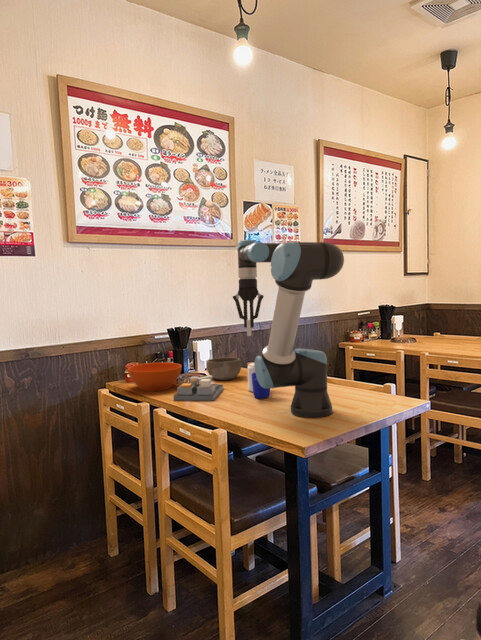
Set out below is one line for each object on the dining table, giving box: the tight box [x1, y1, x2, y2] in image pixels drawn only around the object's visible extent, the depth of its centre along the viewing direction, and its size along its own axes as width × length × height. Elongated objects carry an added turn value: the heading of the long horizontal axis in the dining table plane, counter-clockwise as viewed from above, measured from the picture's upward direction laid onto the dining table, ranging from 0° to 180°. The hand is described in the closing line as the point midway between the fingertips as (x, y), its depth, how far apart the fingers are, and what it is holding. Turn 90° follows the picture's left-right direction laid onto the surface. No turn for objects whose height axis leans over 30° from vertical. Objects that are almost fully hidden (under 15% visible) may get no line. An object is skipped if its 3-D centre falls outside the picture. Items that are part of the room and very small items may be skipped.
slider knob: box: [189, 376, 200, 387], centre depth 203 cm, size 4×3×5 cm
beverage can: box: [247, 362, 255, 393], centre depth 205 cm, size 8×8×12 cm
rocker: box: [199, 375, 213, 382], centre depth 209 cm, size 3×8×1 cm, turn 81°
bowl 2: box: [206, 356, 242, 381], centre depth 235 cm, size 17×18×10 cm
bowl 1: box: [127, 362, 183, 392], centre depth 218 cm, size 25×25×10 cm
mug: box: [252, 373, 271, 400], centre depth 191 cm, size 8×12×10 cm
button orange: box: [180, 382, 192, 388], centre depth 195 cm, size 4×4×4 cm
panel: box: [172, 383, 224, 402], centre depth 201 cm, size 22×17×5 cm
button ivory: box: [199, 378, 212, 388], centre depth 194 cm, size 4×4×4 cm
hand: (249, 335), depth 190 cm, fingers closed
